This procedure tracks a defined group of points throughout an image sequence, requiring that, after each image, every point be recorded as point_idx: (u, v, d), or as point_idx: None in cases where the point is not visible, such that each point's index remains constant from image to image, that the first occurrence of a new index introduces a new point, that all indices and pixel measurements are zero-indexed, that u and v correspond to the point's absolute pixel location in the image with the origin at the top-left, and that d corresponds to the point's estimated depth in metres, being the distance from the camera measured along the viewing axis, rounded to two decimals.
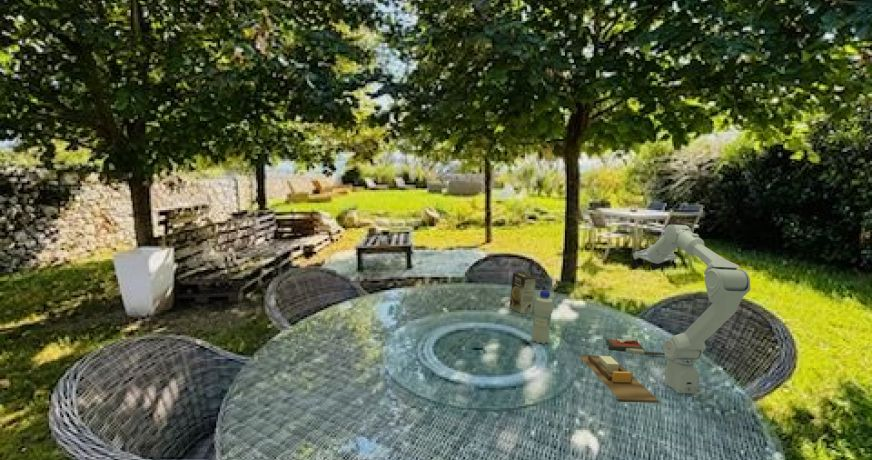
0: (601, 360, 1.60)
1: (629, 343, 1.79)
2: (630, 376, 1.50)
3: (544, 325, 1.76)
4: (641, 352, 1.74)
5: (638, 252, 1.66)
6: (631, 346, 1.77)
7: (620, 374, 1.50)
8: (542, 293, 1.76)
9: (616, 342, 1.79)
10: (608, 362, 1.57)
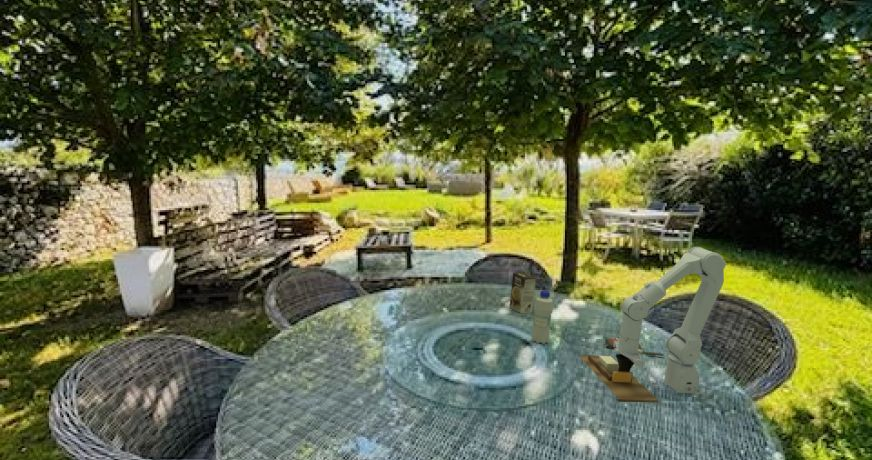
0: (601, 360, 1.60)
1: None
2: (630, 376, 1.50)
3: (544, 325, 1.76)
4: (639, 352, 1.75)
5: (634, 359, 1.44)
6: None
7: (620, 374, 1.50)
8: (542, 293, 1.76)
9: None
10: (608, 362, 1.57)
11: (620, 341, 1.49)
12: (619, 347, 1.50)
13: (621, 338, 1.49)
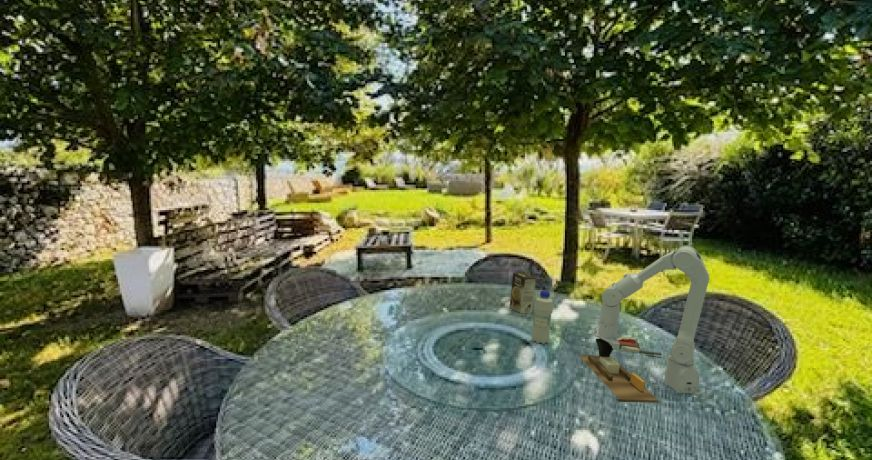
0: (602, 361, 1.60)
1: (626, 341, 1.80)
2: None
3: (544, 325, 1.76)
4: (636, 350, 1.75)
5: (612, 342, 1.56)
6: (627, 344, 1.78)
7: None
8: (542, 293, 1.76)
9: None
10: (609, 363, 1.57)
11: (600, 326, 1.61)
12: (599, 332, 1.61)
13: (601, 324, 1.60)
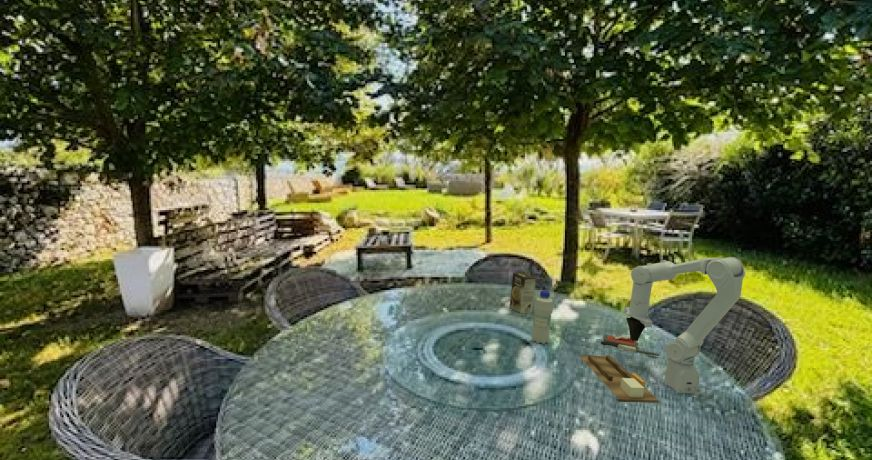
0: (624, 383, 1.45)
1: (625, 340, 1.81)
2: None
3: (544, 325, 1.76)
4: (632, 349, 1.76)
5: None
6: (624, 343, 1.79)
7: None
8: (542, 293, 1.76)
9: (611, 338, 1.83)
10: (632, 385, 1.42)
11: (631, 305, 1.61)
12: (630, 311, 1.62)
13: (632, 302, 1.61)
